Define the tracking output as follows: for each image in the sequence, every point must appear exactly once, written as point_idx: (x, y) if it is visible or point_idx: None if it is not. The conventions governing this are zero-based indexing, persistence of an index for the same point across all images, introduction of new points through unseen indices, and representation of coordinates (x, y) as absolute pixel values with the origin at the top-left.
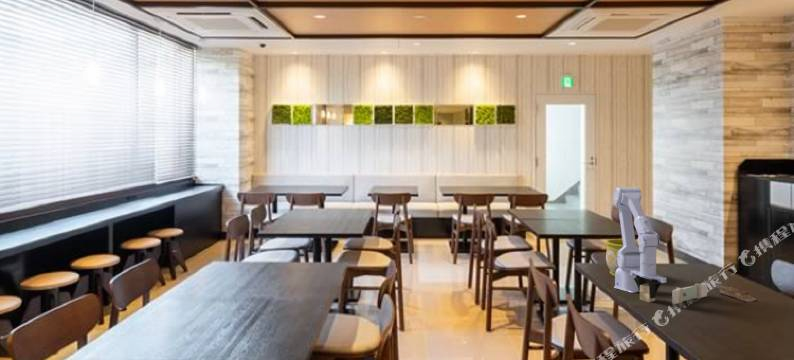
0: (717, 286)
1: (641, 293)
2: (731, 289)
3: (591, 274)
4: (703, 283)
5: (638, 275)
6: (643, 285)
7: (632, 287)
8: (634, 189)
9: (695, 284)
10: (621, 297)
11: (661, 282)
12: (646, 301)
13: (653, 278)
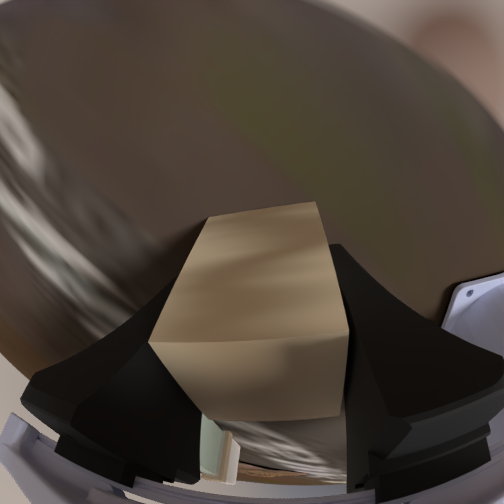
0: (291, 472)
1: (297, 241)
2: (255, 473)
3: None
4: (228, 483)
5: (452, 484)
6: (282, 353)
7: (478, 326)
8: None
9: (218, 477)
10: (445, 98)
11: (19, 420)
12: (232, 213)
13: (36, 474)
